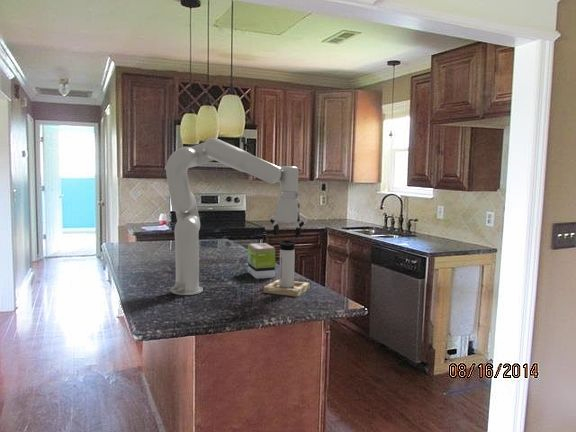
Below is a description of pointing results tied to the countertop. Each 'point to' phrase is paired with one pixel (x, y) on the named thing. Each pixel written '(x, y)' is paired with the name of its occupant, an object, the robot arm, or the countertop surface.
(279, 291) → the holder base
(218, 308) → the countertop surface
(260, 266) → the tea box
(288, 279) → the travel mug
